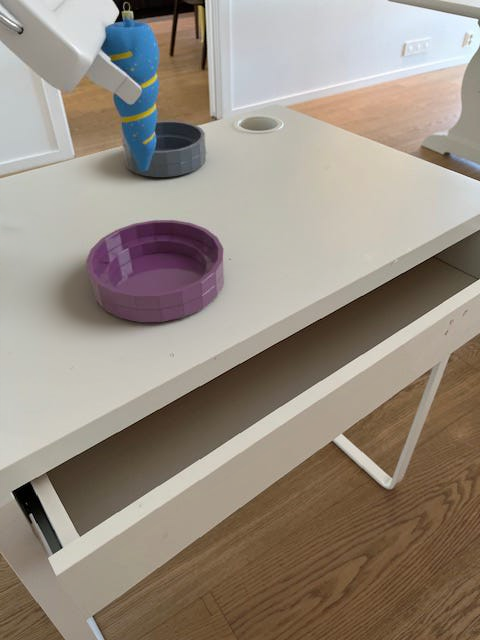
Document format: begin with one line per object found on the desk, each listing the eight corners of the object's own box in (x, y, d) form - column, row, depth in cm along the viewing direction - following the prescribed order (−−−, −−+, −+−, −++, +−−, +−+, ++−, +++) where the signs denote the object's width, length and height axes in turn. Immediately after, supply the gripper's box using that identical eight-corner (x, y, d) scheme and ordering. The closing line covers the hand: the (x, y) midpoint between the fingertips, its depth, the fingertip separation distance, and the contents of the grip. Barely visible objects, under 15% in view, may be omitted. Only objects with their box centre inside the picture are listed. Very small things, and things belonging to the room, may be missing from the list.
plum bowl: (68, 310, 57) (59, 281, 54) (131, 239, 67) (126, 212, 65) (196, 337, 53) (193, 308, 50) (240, 258, 64) (240, 230, 61)
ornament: (109, 173, 53) (79, 3, 43) (144, 157, 56) (123, -4, 46) (146, 185, 50) (123, 9, 41) (180, 168, 54) (166, 1, 44)
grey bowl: (112, 174, 82) (107, 146, 79) (147, 143, 92) (144, 117, 89) (188, 184, 79) (185, 156, 76) (217, 151, 89) (215, 125, 86)
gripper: (-22, -63, 32) (155, 96, 39) (48, -83, 47) (166, 33, 54) (-66, 21, 34) (107, 155, 41) (13, -24, 50) (130, 79, 57)
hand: (140, 85), depth 48 cm, fingers closed on ornament, 5 cm apart
